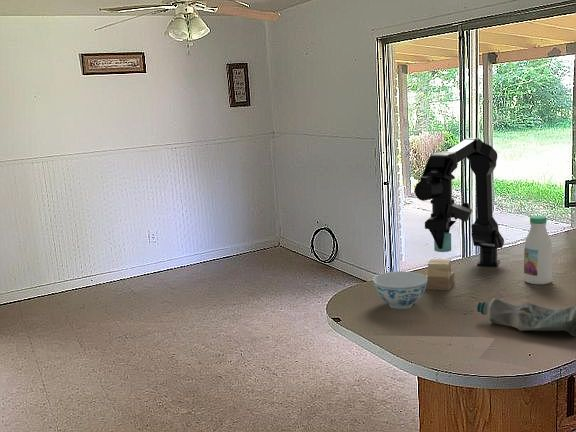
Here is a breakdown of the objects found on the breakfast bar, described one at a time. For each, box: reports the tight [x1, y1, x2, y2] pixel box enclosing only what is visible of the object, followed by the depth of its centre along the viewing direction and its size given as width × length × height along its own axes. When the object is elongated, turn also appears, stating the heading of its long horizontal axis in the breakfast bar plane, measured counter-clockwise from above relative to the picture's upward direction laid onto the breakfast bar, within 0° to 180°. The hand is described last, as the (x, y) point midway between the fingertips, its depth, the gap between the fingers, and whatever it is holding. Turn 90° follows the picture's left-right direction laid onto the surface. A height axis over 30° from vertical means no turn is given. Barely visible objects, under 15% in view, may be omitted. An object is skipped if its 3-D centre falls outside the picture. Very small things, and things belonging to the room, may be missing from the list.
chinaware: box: [372, 270, 428, 310], centre depth 171 cm, size 15×15×8 cm
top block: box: [427, 258, 452, 277], centre depth 186 cm, size 6×6×4 cm
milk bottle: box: [523, 215, 553, 285], centre depth 183 cm, size 8×8×20 cm
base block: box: [424, 271, 455, 292], centre depth 186 cm, size 8×8×4 cm
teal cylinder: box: [433, 232, 452, 253], centre depth 184 cm, size 5×5×5 cm
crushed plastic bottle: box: [476, 297, 576, 337], centre depth 150 cm, size 13×7×25 cm
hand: (442, 246), depth 184 cm, fingers closed on teal cylinder, 5 cm apart
